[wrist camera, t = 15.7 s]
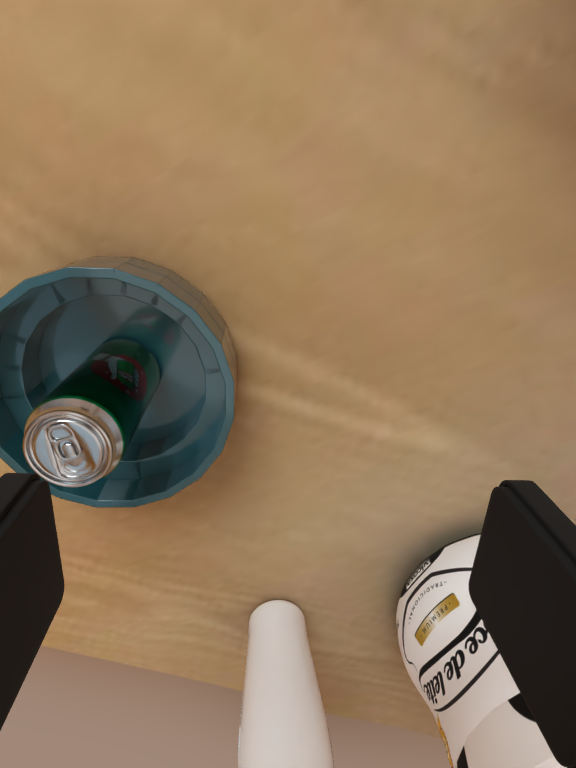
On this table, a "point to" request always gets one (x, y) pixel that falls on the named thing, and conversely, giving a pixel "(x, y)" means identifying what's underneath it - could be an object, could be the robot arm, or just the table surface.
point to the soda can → (91, 415)
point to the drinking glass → (281, 694)
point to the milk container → (464, 668)
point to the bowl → (129, 322)
